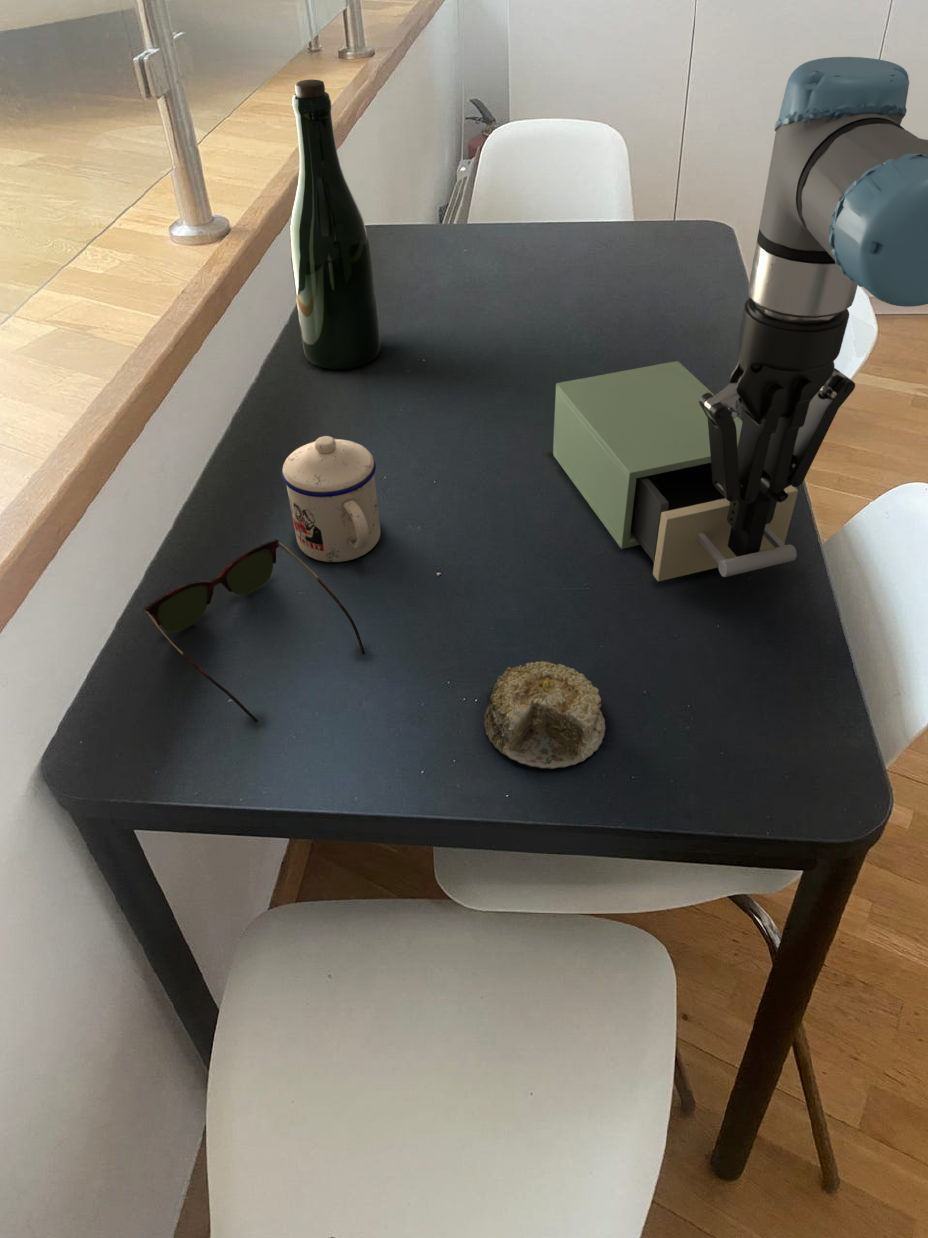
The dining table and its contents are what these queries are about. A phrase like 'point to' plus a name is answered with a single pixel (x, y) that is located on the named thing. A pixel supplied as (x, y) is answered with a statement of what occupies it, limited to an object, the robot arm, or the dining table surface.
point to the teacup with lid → (333, 499)
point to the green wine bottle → (329, 245)
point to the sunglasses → (238, 578)
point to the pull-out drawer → (700, 526)
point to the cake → (544, 715)
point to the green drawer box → (629, 435)
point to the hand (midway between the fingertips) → (742, 552)
